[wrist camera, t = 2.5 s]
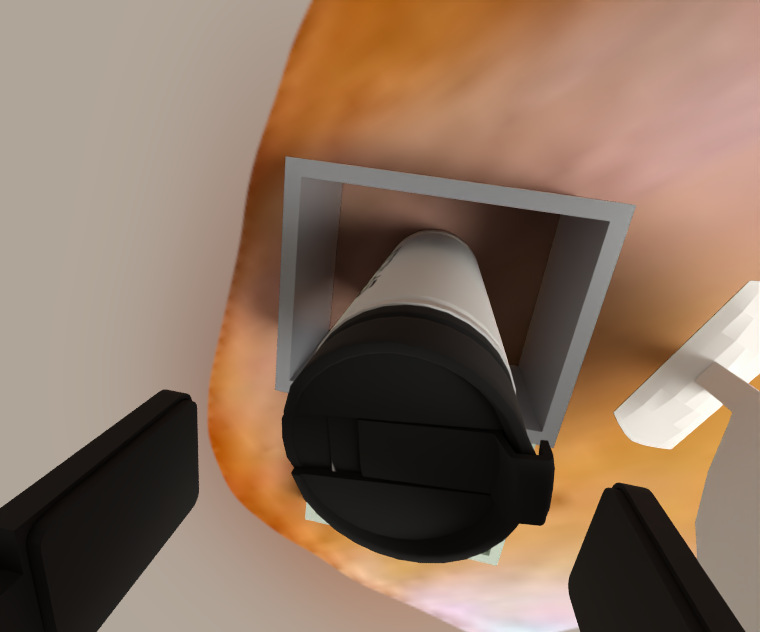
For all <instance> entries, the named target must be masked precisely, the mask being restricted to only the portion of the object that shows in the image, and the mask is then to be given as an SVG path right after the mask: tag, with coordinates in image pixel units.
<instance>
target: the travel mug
mask: <svg viewBox="0 0 760 632" xmlns="http://www.w3.org/2000/svg"><path fill="white" fill-rule="evenodd" d="M282 438H283V442H284V447H285V451H286V455H287V458H288V459H289V461H290V462H291V464H292V465H293V467H294V469H293V471H292V473H291V474H292V476H293V478H294V480H295V482H296V484H297V486H298V488H299V490H300V492H301V494H302V496H303V498H304V500H305V501H306V502H307V503H308V504H309V505H310V506H311V508H312V509H313V510H314V511H315V512H316V513H317V514H318V515H319V516H320V517H321V518H322V519H323V520H324V521H326V522H327V523H328V524H329V525H330V526H331V527H333V528H334V529H335V530H336V531H338V532H339V533H341V534H342V535H344V536H346V537H347V538H349V539H350V540H352V541H353V542H355V543H357V544H359V545H361V546H363V547H365V548H368V549H370V550H372V551H374V552H376V553H379V554H383V555H386V556H389V557H392V558H396V559H399V560H406V561H412V562H418V563H447V562H453V561H459V560H465V559H468V558H471V557H473V556H476V555H479V554H482V553H484V552H487V551H488V550H490V549H491V548H493V547H494V546H496V545H498V544H499V543H501V542H502V541H504V540H505V539H506V538H507V537H508V536H509V535H510V534H511V533H512V531H513V530H514V529H515V528H516V527H517V526H518V524H529V525H539V526H541V525H543V524H544V523H545V520H546V516H547V514H548V511H549V509H550V503H551V497H552V491H553V482H554V471H555V467H554V458H553V454H552V451H551V448H550V445H549V442H548V440H540V448H539V455H536V453H535V451H534V449H533V446H532V444H531V442H530V440H529V437H528V435H527V432H526V428H525V425H524V422H523V418H522V415H521V411H520V408H519V404H518V401H517V397H516V388H515V384H514V381H513V377H512V373H511V370H510V366H509V364H508V360H507V357H506V354H505V350H504V347H503V344H502V341H501V337H500V334H499V331H498V328H497V324H496V321H495V318H494V315H493V312H492V308H491V305H490V302H489V299H488V295H487V292H486V289H485V286H484V283H483V279H482V276H481V273H480V270H479V266H478V263H477V260H476V257H475V255H474V253H473V251H472V250H471V248H470V247H469V246H468V245H467V244H466V243H465V242H464V241H463V240H462V239H461V238H459V237H458V236H456V235H454V234H452V233H450V232H446V231H443V230H435V229H430V230H422V231H419V232H416V233H413V234H411V235H410V236H408V237H406V238H405V239H404V240H402V241H401V242H400V243H399V244H398V245H397V247H396V248H395V249H394V250H393V252H392V253H391V254H390V255H389V257H388V258H387V259H386V261H385V262H384V263H383V264H382V266H381V267H380V268H379V269H378V271H377V272H376V273H375V275H374V276H373V277H372V278H371V280H370V281H369V282H368V283H367V285H366V286H365V287H364V289H363V290H362V291H361V292H360V294H359V295H358V296H357V297H356V299H355V300H354V301H353V303H352V304H351V305H350V306H349V308H348V309H347V310H346V311H345V313H344V314H343V315H342V317H341V318H340V319H339V320H338V322H337V323H336V324H335V325H334V327H333V328H332V329H331V331H330V332H329V333H328V334H327V336H326V337H325V338H324V340H323V341H322V342H321V343H320V345H319V346H318V348H317V350H316V352H315V354H314V356H313V357H312V358H311V359H310V361H309V362H308V363H307V365H306V366H305V367H304V368H303V370H302V371H301V372H300V374H299V375H298V376H297V378H296V379H295V380H294V382H293V383H292V384H291V385H290V389H289V393H288V397H287V401H286V404H285V408H284V415H283V417H282Z"/></svg>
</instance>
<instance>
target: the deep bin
mask: <svg viewBox="0 0 760 632" xmlns="http://www.w3.org/2000/svg"><path fill="white" fill-rule="evenodd" d="M343 183H348V184H355V185H362V186H369V187H376V188H383V189H389V190H396V191H403V192H410V193H417V194H424V195H431V196H438V197H445V198H452V199H459V200H466V201H473V202H479V203H486V204H493V205H500V206H507V207H514V208H521V209H528V210H535V211H542V212H549V213H556V214H561V215H560V218H559V222H558V226H557V229H556V233H555V236H554V240H553V243H552V247H551V251H550V254H549V258H548V261H547V265H546V269H545V272H544V276H543V279H542V283H541V286H540V290H539V294H538V297H537V301H536V304H535V308H534V311H533V315H532V319H531V322H530V326H529V329H528V333H527V336H526V340H525V344H524V347H523V351H522V354H521V358H520V362H519V365H518V366H517V365H512V364H509V366H510V370H511V373H512V377H513V381H514V384H515V388H516V397H517V401H518V404H519V408H520V411H521V415H522V418H523V422H524V425H525V428H526V432H527V435H528V437H529V440H530V442H531V443H532V444H537V445H540V440H548V442H549V445H550V447H551V448H554V445H555V442H556V439H557V436H558V433H559V430H560V427H561V424H562V421H563V418H564V416H565V413H566V410H567V407H568V404H569V401H570V398H571V395H572V392H573V389H574V386H575V383H576V380H577V377H578V374H579V372H580V369H581V366H582V363H583V360H584V357H585V354H586V351H587V348H588V345H589V342H590V339H591V336H592V333H593V330H594V328H595V325H596V322H597V319H598V316H599V313H600V310H601V307H602V304H603V301H604V298H605V295H606V292H607V289H608V286H609V284H610V281H611V278H612V275H613V272H614V269H615V266H616V263H617V260H618V257H619V254H620V251H621V248H622V245H623V242H624V239H625V237H626V234H627V231H628V228H629V225H630V222H631V219H632V216H633V213H634V210H635V207H636V205H632V204H625V203H619V202H612V201H606V200H599V199H592V198H586V197H579V196H572V195H565V194H558V193H550V192H543V191H536V190H529V189H522V188H514V187H507V186H500V185H493V184H486V183H478V182H471V181H464V180H457V179H450V178H442V177H435V176H428V175H421V174H414V173H406V172H399V171H392V170H385V169H378V168H370V167H363V166H356V165H349V164H342V163H334V162H327V161H319V160H311V159H303V158H295V157H287V156H286V159H285V181H284V204H283V227H282V249H281V272H280V294H279V317H278V339H277V362H276V384H275V390H278V391H282V392H287V393H289V389H290V385H291V384H292V383H293V382H294V380H295V379H296V378H297V376H298V375H299V374H300V372H301V371H302V370H303V368H304V367H305V366H306V365H307V363H308V362H309V361H310V359H311V358H312V357H313V356H314V354H315V352H316V350H317V348H318V346H319V345H320V343H321V342H322V341H323V340H324V338H325V337H326V336H327V334H328V333H329V332H330V330H329V327H330V316H331V305H332V295H333V284H334V273H335V262H336V251H337V241H338V230H339V219H340V208H341V197H342V187H343Z"/></svg>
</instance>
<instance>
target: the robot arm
mask: <svg viewBox="0 0 760 632" xmlns="http://www.w3.org/2000/svg"><path fill="white" fill-rule="evenodd" d="M197 430H198V429H197V405H196V403H195V402H193V401H192V399H191V397H190V395H188V394H186V393H181V392H176V391H171V390H162V391H160V392H158V393H157V394H156V395H154V396H153V397H151V398H150V399H149V400H147V401H146V402H145V403H143V404H142V405H141V406H139V407H138V408H136V409H135V410H134V411H132V412H131V413H130V414H128V415H127V416H126V417H124V418H123V419H121V420H120V421H119V422H117V423H116V424H115V425H114V426H112V427H111V428H109V429H108V430H106V431H105V432H104V433H102V434H101V435H100V436H98V437H97V438H96V439H94V440H93V441H91V442H90V443H89V444H87V445H86V446H85V447H83V448H82V449H80V450H79V451H78V452H76V453H75V454H74V455H72V456H71V457H70V458H68V459H67V460H66V461H64V462H63V463H62V464H60V465H59V466H57V467H56V468H55V469H53V470H52V471H50V472H49V473H48V474H46V475H45V476H44V477H42V478H41V479H40V480H38V481H37V482H35V483H34V484H33V485H32V486H30V487H29V488H27V489H26V490H25V491H23V492H22V493H20V494H19V495H18V496H16V497H15V498H14V499H12V500H11V501H9V502H8V503H7V504H5V505H4V506H3V507H1V508H0V632H97V631H98V629H99V628H100V627H101V626H102V624H103V623H104V622H105V620H106V619H107V618H108V616H109V615H110V614H111V613H112V611H113V610H114V609H115V608H116V606H117V605H118V604H119V602H120V601H121V600H122V599H123V597H124V596H125V595H126V593H127V592H128V591H129V589H130V588H131V587H132V585H133V584H134V583H135V582H136V580H137V579H138V578H139V576H140V575H141V574H142V573H143V571H144V570H145V569H146V568H147V566H148V565H149V564H150V562H151V561H152V560H153V558H154V557H155V556H156V555H157V553H158V552H159V551H160V549H161V548H162V547H163V546H164V544H165V543H166V542H167V540H168V539H169V538H170V537H171V535H172V534H173V533H174V531H175V530H176V529H177V527H178V526H179V525H180V524H181V522H182V521H183V520H184V518H185V517H186V516H187V515H188V513H189V512H190V511H191V509H192V508H193V506H194V505H195V503H196V500H197V498H198V494H199V475H198V474H199V473H198V433H197V432H198V431H197ZM568 589H569V596H570V600H571V603H572V606H573V609H574V613H575V616H576V619H577V623H578V626H579V629H580V632H745V630H744V629H743V627H742V626H741V624H740V623H739V621H738V620H737V618H736V617H735V615H734V614H733V612H732V611H731V609H730V608H729V606H728V605H727V603H726V602H725V600H724V599H723V597H722V596H721V594H720V593H719V591H718V590H717V588H716V587H715V585H714V584H713V582H712V581H711V580H710V578H709V577H708V575H707V574H706V572H705V571H704V569H703V568H702V566H701V565H700V563H699V562H698V560H697V559H696V557H695V556H694V554H693V553H692V551H691V550H690V548H689V547H688V545H687V544H686V542H685V541H684V539H683V538H682V536H681V535H680V533H679V532H678V531H677V529H676V528H675V526H674V525H673V523H672V522H671V520H670V519H669V517H668V516H667V514H666V513H665V511H664V510H663V508H662V507H661V505H660V504H659V502H658V501H657V499H656V498H655V496H654V495H653V493H652V492H651V491H650V490H649V489H646V488H643V487H638V486H633V485H628V484H623V483H616V484H615V485H613V487H612V488H606V489H605V490H604V492H603V494H602V496H601V499H600V501H599V504H598V506H597V509H596V511H595V514H594V516H593V519H592V521H591V524H590V526H589V529H588V531H587V534H586V536H585V539H584V541H583V544H582V546H581V549H580V551H579V554H578V556H577V559H576V561H575V564H574V566H573V569H572V571H571V574H570V577H569V582H568Z"/></svg>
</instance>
